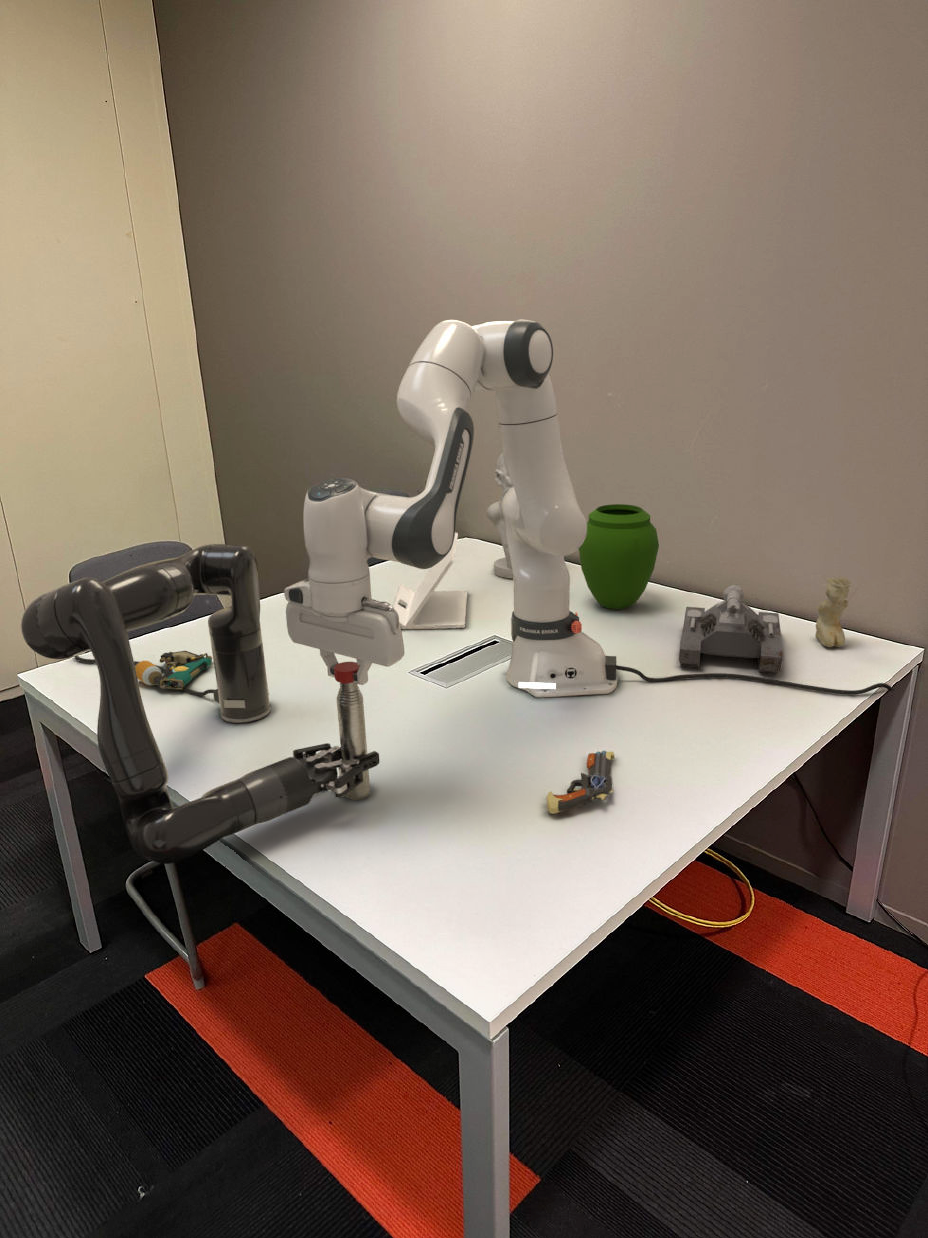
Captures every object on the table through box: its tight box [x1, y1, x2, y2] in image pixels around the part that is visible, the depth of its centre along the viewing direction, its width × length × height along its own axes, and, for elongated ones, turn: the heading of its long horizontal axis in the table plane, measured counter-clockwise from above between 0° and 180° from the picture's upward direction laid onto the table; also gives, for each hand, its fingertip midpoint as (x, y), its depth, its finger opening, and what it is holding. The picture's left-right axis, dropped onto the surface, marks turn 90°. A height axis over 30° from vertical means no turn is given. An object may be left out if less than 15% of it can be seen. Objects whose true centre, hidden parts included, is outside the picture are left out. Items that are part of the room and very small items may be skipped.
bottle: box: [336, 682, 371, 801], centre depth 132 cm, size 4×4×21 cm
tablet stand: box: [392, 531, 468, 630], centre depth 211 cm, size 18×25×17 cm
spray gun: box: [135, 650, 213, 690], centre depth 180 cm, size 4×17×15 cm
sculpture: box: [814, 576, 852, 648], centre depth 185 cm, size 6×7×15 cm
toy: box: [678, 584, 784, 674], centre depth 182 cm, size 25×20×15 cm
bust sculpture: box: [485, 452, 513, 579], centre depth 231 cm, size 16×24×35 cm
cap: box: [334, 661, 360, 684], centre depth 129 cm, size 4×4×2 cm
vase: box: [578, 503, 660, 610], centre depth 210 cm, size 20×20×24 cm
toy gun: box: [546, 750, 616, 814], centre depth 135 cm, size 3×19×10 cm
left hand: (369, 751), depth 135 cm, fingers closed on bottle, 4 cm apart
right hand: (348, 679), depth 129 cm, fingers closed on cap, 4 cm apart
